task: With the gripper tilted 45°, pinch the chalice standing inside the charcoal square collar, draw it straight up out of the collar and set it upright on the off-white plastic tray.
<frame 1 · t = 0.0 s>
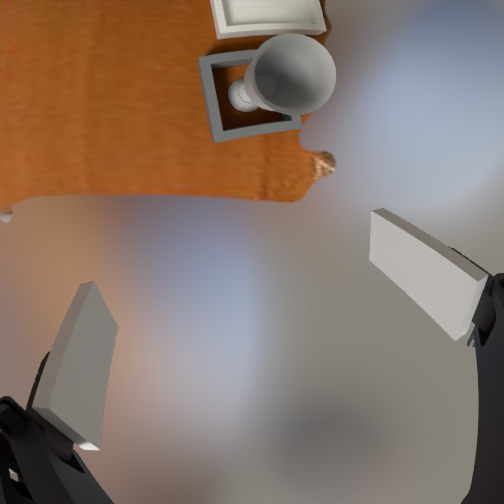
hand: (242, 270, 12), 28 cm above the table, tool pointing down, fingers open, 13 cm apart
charcoal collar: (246, 94, 33), on the table
chalice: (246, 94, 33), resting in charcoal collar
off-white tray: (263, 2, 26), on the table
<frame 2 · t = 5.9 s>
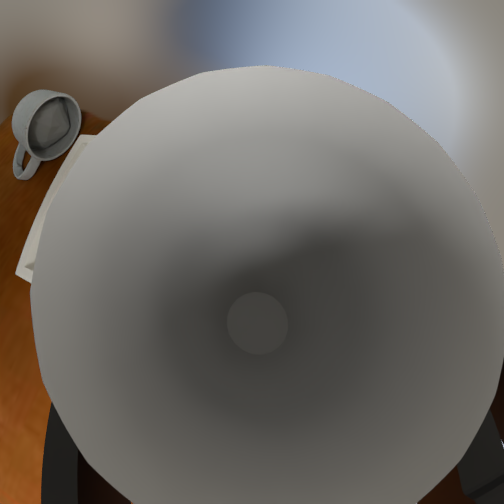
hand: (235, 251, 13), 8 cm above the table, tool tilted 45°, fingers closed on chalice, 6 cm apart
ceramic mug: (50, 148, 25), on the table
chalice: (249, 329, 20), resting in charcoal collar, touching gripper
off-white tray: (101, 222, 22), on the table
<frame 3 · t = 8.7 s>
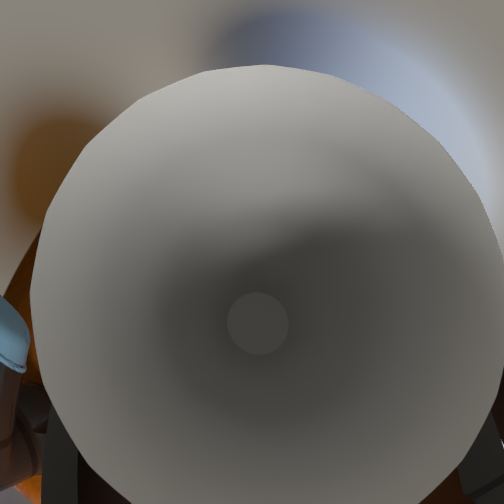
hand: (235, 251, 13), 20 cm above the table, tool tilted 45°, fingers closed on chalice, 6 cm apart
chalice: (249, 329, 20), point 12 cm above the table, touching gripper
when the fingers open (10 cm above the table, at t = 11.4 s): chalice drops 2 cm, resting on off-white tray.
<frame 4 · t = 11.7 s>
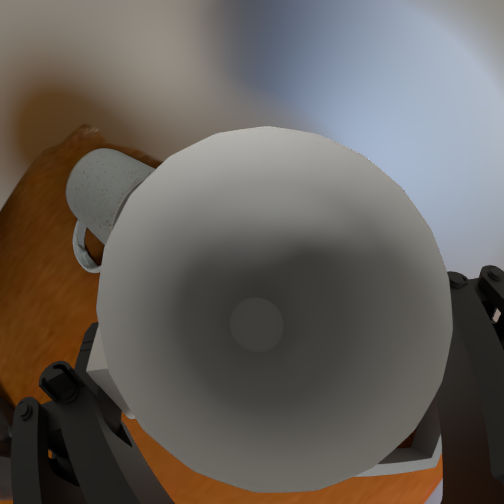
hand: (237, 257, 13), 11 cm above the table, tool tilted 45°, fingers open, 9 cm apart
ceramic mug: (123, 227, 25), on the table
charcoal collar: (389, 408, 20), on the table
chalice: (248, 330, 22), point 1 cm above the table, touching off-white tray
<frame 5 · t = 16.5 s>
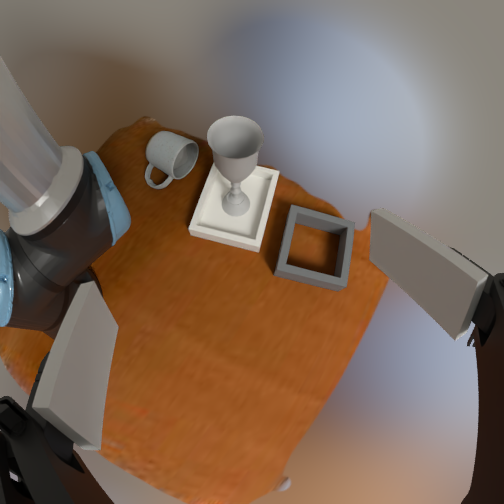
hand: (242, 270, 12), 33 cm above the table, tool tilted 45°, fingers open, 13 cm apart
ceramic mug: (171, 170, 51), on the table
charcoal collar: (312, 252, 47), on the table
chalice: (235, 204, 48), point 1 cm above the table, touching off-white tray
off-white tray: (236, 205, 49), on the table
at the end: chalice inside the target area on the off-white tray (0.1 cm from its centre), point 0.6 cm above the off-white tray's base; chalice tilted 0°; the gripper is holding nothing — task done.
